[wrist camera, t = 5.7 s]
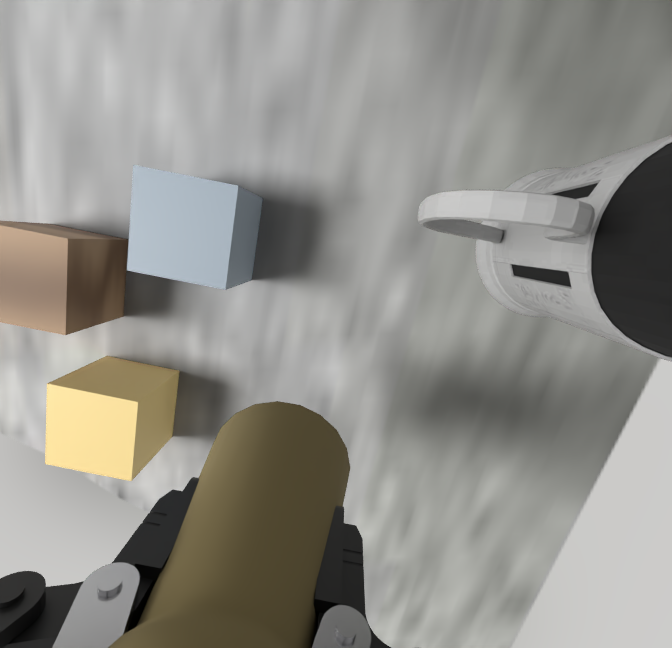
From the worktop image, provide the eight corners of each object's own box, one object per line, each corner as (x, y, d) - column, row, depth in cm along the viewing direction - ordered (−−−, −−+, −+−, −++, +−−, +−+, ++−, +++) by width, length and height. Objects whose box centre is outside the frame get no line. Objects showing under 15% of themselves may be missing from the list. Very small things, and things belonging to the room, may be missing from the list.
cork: (350, 402, 15) (351, 834, 4) (349, 527, 16) (346, 1098, 5) (205, 400, 15) (-161, 802, 4) (215, 523, 16) (-40, 1061, 6)
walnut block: (50, 224, 23) (-32, 218, 18) (128, 239, 23) (68, 238, 18) (49, 301, 24) (-29, 316, 19) (124, 316, 24) (65, 335, 19)
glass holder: (601, 325, 23) (1062, 477, 8) (376, 296, 23) (424, 393, 8) (645, 177, 21) (1359, 20, 6) (398, 146, 21) (514, -81, 6)
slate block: (182, 182, 22) (133, 164, 17) (263, 198, 22) (238, 185, 17) (174, 264, 23) (127, 270, 18) (252, 280, 23) (225, 289, 18)
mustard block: (107, 355, 24) (47, 383, 20) (180, 370, 24) (137, 402, 20) (103, 421, 25) (45, 464, 21) (172, 435, 26) (131, 481, 21)
